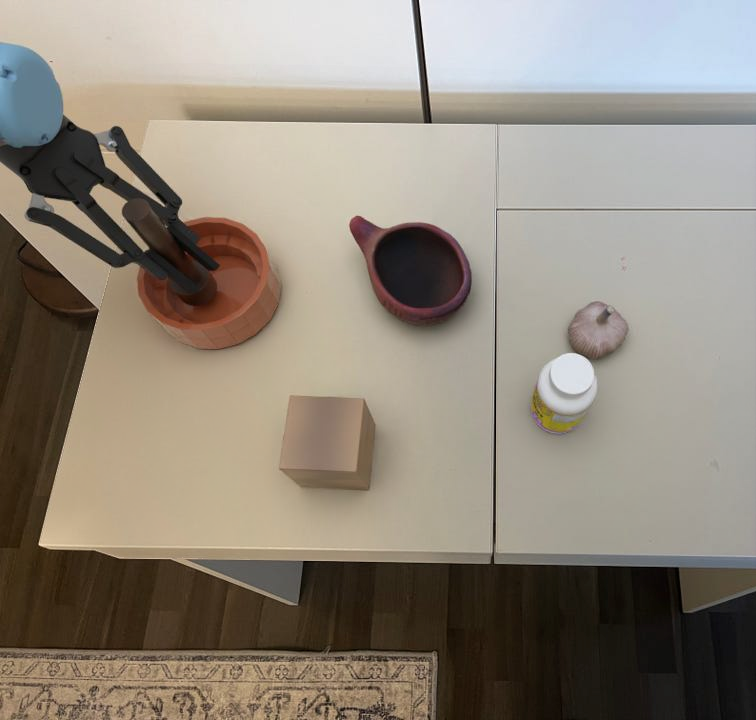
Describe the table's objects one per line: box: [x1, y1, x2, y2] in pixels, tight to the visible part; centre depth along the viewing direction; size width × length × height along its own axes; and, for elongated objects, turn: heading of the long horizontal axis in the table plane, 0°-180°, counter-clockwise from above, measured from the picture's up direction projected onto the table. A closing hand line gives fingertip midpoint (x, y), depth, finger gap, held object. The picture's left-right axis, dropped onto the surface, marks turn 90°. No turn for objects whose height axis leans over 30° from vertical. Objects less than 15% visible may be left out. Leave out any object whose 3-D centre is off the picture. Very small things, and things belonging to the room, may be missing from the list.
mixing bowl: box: [136, 216, 282, 350], centre depth 83 cm, size 16×16×6 cm
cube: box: [278, 394, 376, 491], centre depth 74 cm, size 8×8×10 cm
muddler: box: [121, 198, 217, 306], centre depth 75 cm, size 5×5×17 cm
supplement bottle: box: [530, 352, 598, 435], centre depth 75 cm, size 7×7×13 cm
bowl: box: [348, 215, 473, 326], centre depth 83 cm, size 16×13×8 cm
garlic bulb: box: [567, 301, 629, 360], centre depth 81 cm, size 8×7×8 cm
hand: (204, 279), depth 76 cm, fingers closed on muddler, 3 cm apart
